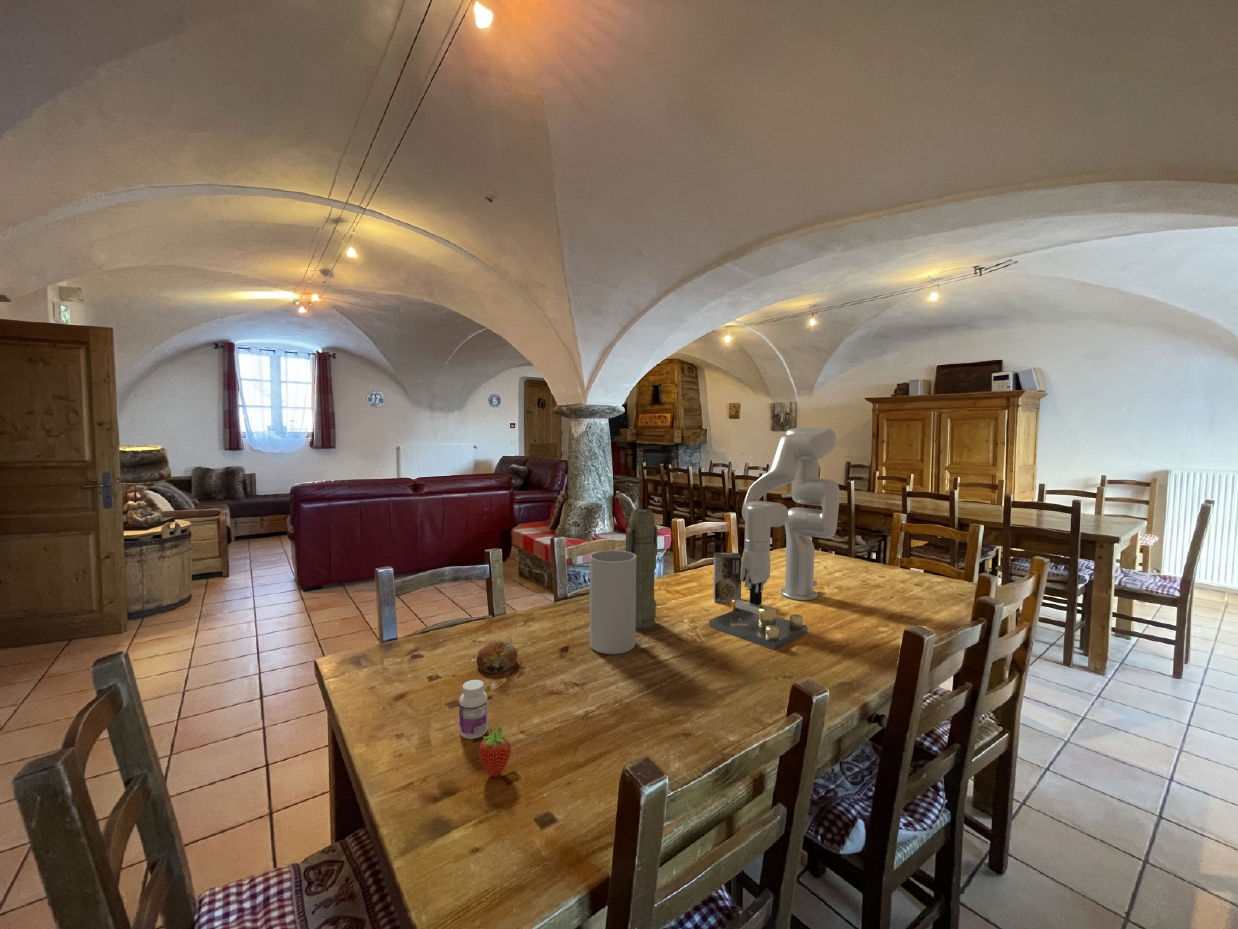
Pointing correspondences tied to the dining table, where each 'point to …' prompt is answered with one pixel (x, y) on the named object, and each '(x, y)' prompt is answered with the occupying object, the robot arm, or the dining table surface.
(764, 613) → the ball-ended bar
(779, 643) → the base
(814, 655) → the dining table surface
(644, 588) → the stone statue
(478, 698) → the pill bottle
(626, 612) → the cylinder vase
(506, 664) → the bread roll
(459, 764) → the dining table surface
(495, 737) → the fruit
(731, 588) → the coffee box
